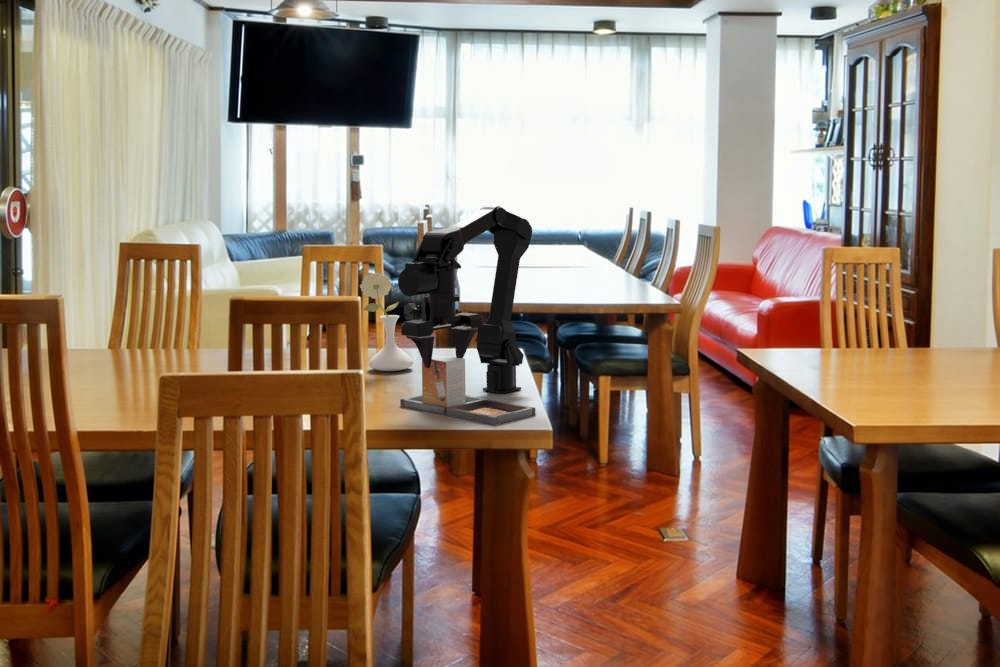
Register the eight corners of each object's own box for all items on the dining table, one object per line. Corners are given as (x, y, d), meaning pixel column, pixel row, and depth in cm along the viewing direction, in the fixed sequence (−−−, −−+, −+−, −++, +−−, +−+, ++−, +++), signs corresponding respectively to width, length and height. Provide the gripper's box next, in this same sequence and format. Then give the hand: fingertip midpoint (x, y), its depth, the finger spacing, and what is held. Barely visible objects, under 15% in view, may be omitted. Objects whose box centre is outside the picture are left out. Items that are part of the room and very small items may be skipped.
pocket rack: (441, 397, 240) (441, 390, 240) (535, 414, 221) (535, 407, 221) (400, 406, 232) (400, 399, 232) (494, 425, 213) (494, 417, 212)
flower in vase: (417, 366, 281) (414, 269, 277) (409, 374, 269) (406, 273, 266) (367, 366, 282) (364, 270, 278) (357, 374, 271) (354, 274, 267)
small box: (422, 405, 232) (420, 357, 231) (441, 401, 236) (440, 354, 234) (446, 411, 226) (445, 361, 225) (466, 406, 230) (465, 358, 229)
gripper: (447, 285, 240) (449, 355, 242) (382, 293, 227) (385, 366, 229) (483, 288, 232) (484, 360, 235) (418, 297, 219) (420, 372, 221)
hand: (443, 364), depth 230 cm, fingers open, 9 cm apart
